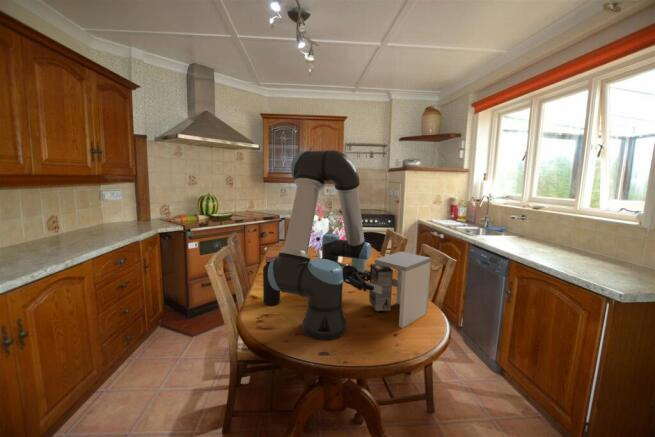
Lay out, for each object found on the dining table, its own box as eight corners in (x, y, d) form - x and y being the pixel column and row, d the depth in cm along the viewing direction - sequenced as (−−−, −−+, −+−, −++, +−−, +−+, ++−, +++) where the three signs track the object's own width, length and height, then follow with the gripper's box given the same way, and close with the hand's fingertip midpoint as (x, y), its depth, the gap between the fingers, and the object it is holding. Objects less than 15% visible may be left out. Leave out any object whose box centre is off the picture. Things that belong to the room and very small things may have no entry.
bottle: (260, 304, 123) (259, 256, 120) (269, 298, 129) (268, 252, 126) (274, 307, 120) (274, 258, 118) (283, 300, 127) (283, 254, 124)
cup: (364, 276, 159) (365, 258, 158) (350, 275, 161) (350, 256, 160) (366, 271, 167) (366, 254, 166) (352, 270, 168) (352, 253, 167)
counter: (402, 328, 106) (406, 267, 102) (372, 315, 115) (374, 259, 111) (427, 312, 118) (431, 257, 115) (398, 302, 127) (401, 251, 124)
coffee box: (368, 301, 124) (369, 263, 122) (383, 300, 125) (384, 263, 123) (375, 311, 115) (377, 270, 113) (391, 310, 116) (393, 270, 114)
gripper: (361, 275, 140) (404, 288, 125) (327, 288, 124) (371, 304, 109) (362, 260, 139) (405, 271, 124) (327, 270, 123) (372, 284, 107)
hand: (389, 286), depth 116 cm, fingers closed on coffee box, 10 cm apart
